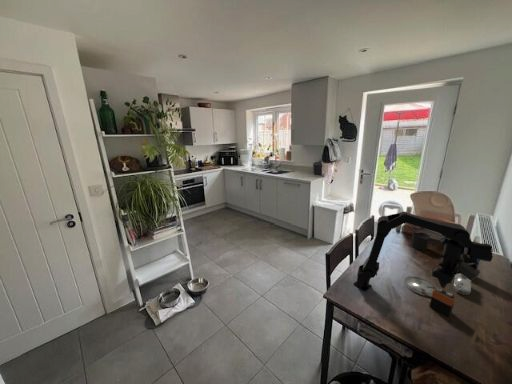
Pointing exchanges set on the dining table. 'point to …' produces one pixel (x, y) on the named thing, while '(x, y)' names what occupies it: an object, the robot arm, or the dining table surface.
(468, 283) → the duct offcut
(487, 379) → the dining table surface
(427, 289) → the flange plate
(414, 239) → the pen holder
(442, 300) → the battery
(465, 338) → the dining table surface
